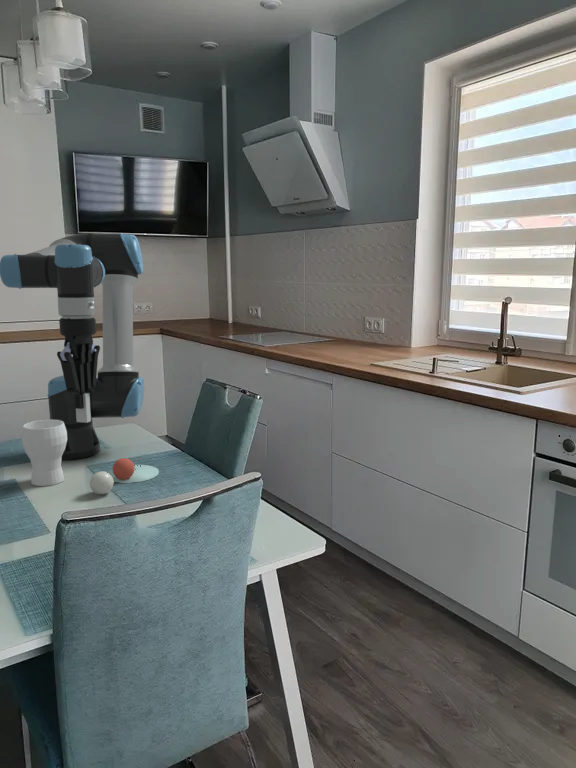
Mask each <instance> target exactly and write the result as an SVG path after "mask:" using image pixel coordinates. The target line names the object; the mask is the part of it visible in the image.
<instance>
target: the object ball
mask: <svg viewBox="0 0 576 768" xmlns="http://www.w3.org/2000/svg"><path fill="white" fill-rule="evenodd" d="M134 465H135V463H134V462H133V461H132V460H131V459H129V458H125V457H121V458H119V459H117V460H116V461H115V462H114V463H113V465H112V469H113V474H114V475H115V477H117V478H118V479H121V480H125V479H128V478H130V477H131V476H132V475H133V473H134V470H135V467H134Z"/></svg>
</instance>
